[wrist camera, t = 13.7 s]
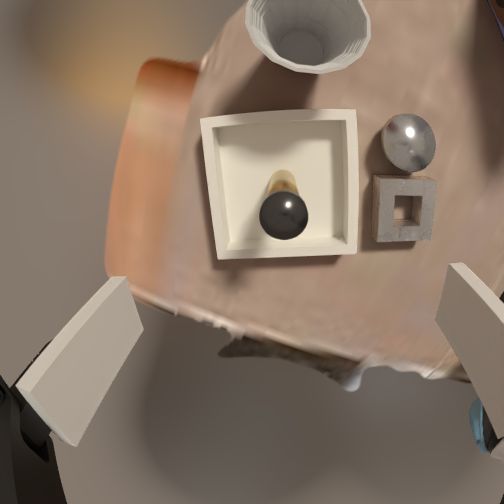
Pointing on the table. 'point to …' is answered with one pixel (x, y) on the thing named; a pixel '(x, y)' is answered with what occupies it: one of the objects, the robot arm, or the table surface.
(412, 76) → the table surface
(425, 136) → the bracket
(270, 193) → the lock pin
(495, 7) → the cereal box
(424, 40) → the table surface
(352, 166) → the tray
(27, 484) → the robot arm
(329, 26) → the plastic cup
